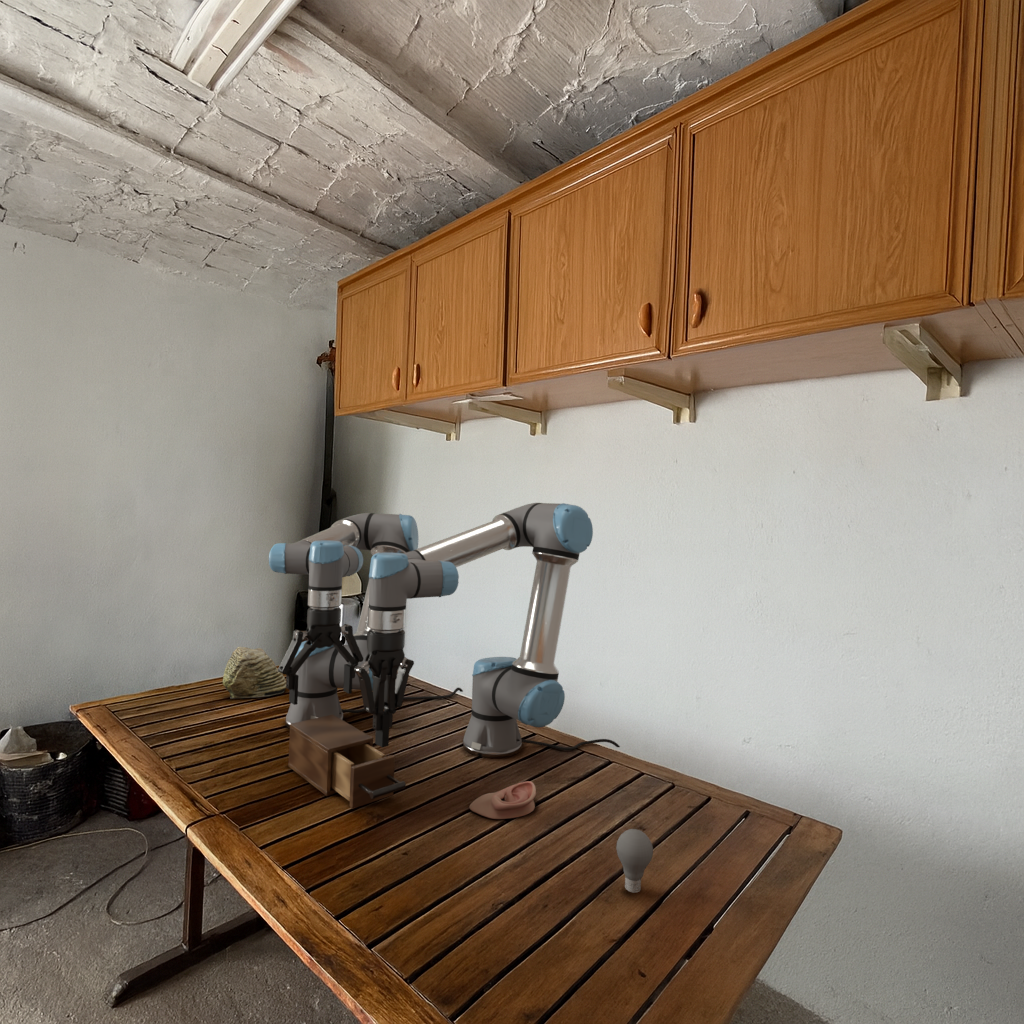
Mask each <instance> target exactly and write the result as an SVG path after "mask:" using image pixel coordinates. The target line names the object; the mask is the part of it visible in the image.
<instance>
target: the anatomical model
mask: <svg viewBox="0 0 1024 1024" xmlns="http://www.w3.org/2000/svg"><path fill="white" fill-rule="evenodd" d="M536 795H537V789H536V785H535V783H534V782H533V781H529V780H528V781H527V780H526V781H522V782H518V783H515V784H512V785H510V786H507V787H505V788H503V789H500V790H498V791H496V792H489V793H484V794H482V795H480V796H478V797H477V798H476V799H474V800H473V801H472V802H471V803H470V804H469V807H468V808H469V810H470V811H472V812H473V813H475V814H477V815H480V816H482V817H485V818H488V819H492V820H505V819H515V818H520V817H523V816H526V815H528V814H530V813H532V812H533V811H534V810H535V807H536V803H535V801H534V800H535V797H536Z"/></svg>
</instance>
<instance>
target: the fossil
mask: <svg viewBox="0 0 1024 1024" xmlns="http://www.w3.org/2000/svg"><path fill="white" fill-rule="evenodd" d="M278 668H279V667H277V665H276V663H275V662H274V660H273V659H272V658H271V657H270V656H269V655H268V654H267V653H266V652H265V650H264V649H263V648H260V647H258V648H251V647H247V646H246V647H245V646H238V647H237V648H236V649H235V650H233V651H232V653H231V656H230V657H229V659H228V660H227V663H226V666H225V668H224V671H223V675H222V676H223V677H222V685H223V687H224V688H225V690H226V691H228V693H229V698H230V699H250V698H264V697H271V696H275V695H281V694H284V693H285V691H286V689H287V688H286V676H285V675H284V674H282V673H280V672H279V671H278Z"/></svg>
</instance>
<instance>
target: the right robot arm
mask: <svg viewBox="0 0 1024 1024" xmlns="http://www.w3.org/2000/svg"><path fill="white" fill-rule="evenodd" d="M593 529H594V528H593V523H592V520H591V518H590V517H589V514H588V513H587V511H586V510H585V509H583V508H582V507H581V506H579V505H576V504H570V503H564V502H563V503H555V502H554V503H550V502H549V503H547V502H532V503H527V504H524V505H520V506H518V507H515V508H512V509H510V510H507V511H505V512H502V513H499V514H497V515H495V516H494V517H493V518H492V520H491V521H489V522H487V523H484V524H481V525H479V526H475V527H472V528H470V529H468V530H465V531H462V532H460V533H459V532H458V533H456V534H454V535H451V536H448V537H446V538H443V539H440V540H438V541H435V542H432V543H429V544H427V545H424V546H421V547H418V549H416V550H413V551H410V552H407V553H404V554H403V553H376V554H374V555H373V556H371V558H370V565H369V574H368V582H369V608H368V625H367V626H368V628H370V630H369V631H368V632H367V650H368V653H367V656H366V658H365V662H364V663H363V664H362V665H361V666H360V667H359V666H356V667H355V668H354V671H355V673H356V674H357V676H358V678H359V683H360V688H361V690H360V693H361V699H362V704H363V708H364V710H365V711H364V712H366V713H369V714H371V715H372V729H373V731H375V733H374V734H375V735H374V737H375V738H374V744H375V745H377V746H379V747H381V748H385V747H389V745H390V744H389V743H390V728H392V727H393V722H394V721H393V719H394V718H393V716H394V715H395V714H396V713H397V709H400V708H401V707H402V706H403V702H404V700H403V698H404V697H405V693H406V689H407V684H408V682H409V681H408V680H409V677H410V672H411V670H412V669H413V666H415V661H414V660H412V659H410V658H408V657H406V656H405V655H406V653H405V651H404V648H405V645H406V644H405V643H406V631H405V630H404V628H405V627H406V613H407V600H411V599H421V598H422V599H423V598H437V597H438V598H442V597H446V596H451V595H453V594H455V592H456V591H457V589H458V586H459V584H460V583H459V578H460V575H459V571H458V567H461V566H463V565H466V564H468V563H470V562H473V561H476V560H478V559H480V558H483V557H486V556H489V555H491V554H493V553H496V552H499V551H500V550H505V551H511V550H513V549H516V548H524V547H526V548H527V547H528V548H529V547H530V548H532V551H531V552H532V553H531V554H532V555H533V557H534V558H535V560H536V564H535V569H534V574H533V580H532V586H531V592H530V597H529V603H528V608H527V614H526V620H525V625H524V631H523V638H522V641H521V648H520V654H519V657H518V658H516V657H513V656H493V657H491V656H490V657H483V658H479V659H478V660H476V661H475V662H474V664H473V669H472V674H471V675H472V685H471V687H472V689H471V714H470V715H471V716H470V719H469V721H468V724H467V726H466V729H465V733H464V735H463V739H462V747H463V749H464V750H465V751H466V752H467V753H469V754H471V755H474V756H477V757H481V758H487V759H488V758H489V759H501V758H507V757H508V758H509V757H512V756H515V755H516V754H518V753H519V752H521V751H522V748H523V747H522V746H523V743H524V744H532V745H537V746H542V747H546V748H547V747H548V748H551V749H555V750H559V751H574V750H576V749H578V748H579V747H581V746H585V745H591V744H597V743H609V744H612V745H613V746H615V747H616V748H620V747H621V746H620V745H619V744H618V742H616V741H614V740H611V739H609V738H599V739H598V738H597V739H593V740H586V741H581V742H578V743H577V744H576V745H574V746H569V747H565V746H559V745H555V744H551V743H547V742H542V741H538V740H537V741H536V740H530V739H525V738H522V734H521V732H520V728H519V725H518V721H519V722H520V723H522V724H524V725H526V726H531V727H533V728H544V727H546V726H548V725H550V724H552V723H553V722H554V720H556V719H557V717H559V715H560V713H561V712H562V710H563V707H564V704H565V697H566V694H565V691H564V688H563V686H562V684H561V683H560V682H559V681H558V679H559V675H560V670H559V669H558V668H557V666H556V664H555V660H556V655H557V649H558V644H559V638H560V633H561V626H562V620H563V615H564V609H565V603H566V598H567V592H568V587H569V581H570V575H571V568H572V567H573V566H574V565H575V564H577V563H578V562H579V560H580V559H579V557H580V555H581V553H583V552H586V551H587V549H588V547H590V545H591V543H592V540H593V536H594V530H593ZM369 668H370V670H371V671H372V678H373V691H372V686H371V681H370V677H369V675H368V674H369V673H370V672H369Z"/></svg>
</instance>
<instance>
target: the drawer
mask: <svg viewBox="0 0 1024 1024" xmlns="http://www.w3.org/2000/svg"><path fill="white" fill-rule="evenodd" d="M395 760H396V757H395V755H393V754H390V755H386V754H385V753H383V752H381V751H380V750H378V749H377V748H375V747H374V746H373V747H372V746H370V745H368V744H367V743H364V744H361V745H357V746H353V747H349V748H345V749H342V750H338V751H334V752H332V759H331V784H330V787H331V788H332V789H334V790H335V791H336V792H338V793H337V794H339V795H340V796H341V797H342V798H344V799H345V800H347V801H348V802H349V808H351V809H356V808H359V807H363V806H365V805H368V804H371V803H374V802H377V801H380V800H383V799H386V798H388V797H391V796H394V792H395V793H396V792H398V791H401V790H403V789H406V788H407V785H406V781H404V780H402V781H400V780H398V779H397V778H395V765H396V764H395V763H396V762H395Z"/></svg>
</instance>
